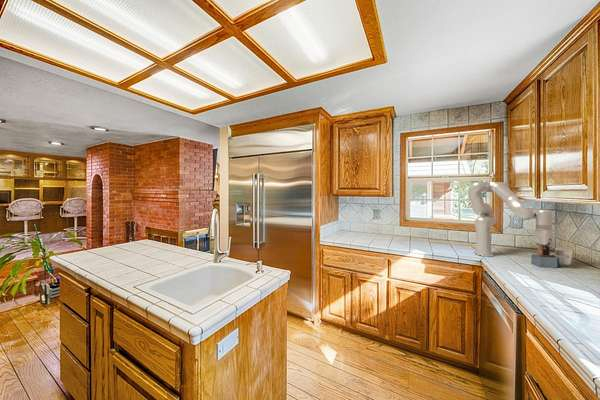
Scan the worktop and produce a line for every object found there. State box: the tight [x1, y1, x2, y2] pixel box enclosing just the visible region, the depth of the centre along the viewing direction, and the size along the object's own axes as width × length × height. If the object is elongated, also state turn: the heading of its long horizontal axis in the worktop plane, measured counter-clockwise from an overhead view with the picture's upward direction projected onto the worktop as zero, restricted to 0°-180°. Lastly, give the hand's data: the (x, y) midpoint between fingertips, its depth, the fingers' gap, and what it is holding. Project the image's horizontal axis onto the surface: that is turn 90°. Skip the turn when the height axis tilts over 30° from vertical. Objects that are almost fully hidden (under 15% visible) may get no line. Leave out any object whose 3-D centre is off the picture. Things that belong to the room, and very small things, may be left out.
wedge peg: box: [537, 244, 551, 257], centre depth 153 cm, size 3×5×10 cm, turn 76°
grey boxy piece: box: [530, 250, 570, 269], centre depth 152 cm, size 9×18×11 cm, turn 76°
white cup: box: [554, 247, 573, 266], centre depth 156 cm, size 8×8×10 cm
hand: (543, 254), depth 153 cm, fingers closed on wedge peg, 3 cm apart
